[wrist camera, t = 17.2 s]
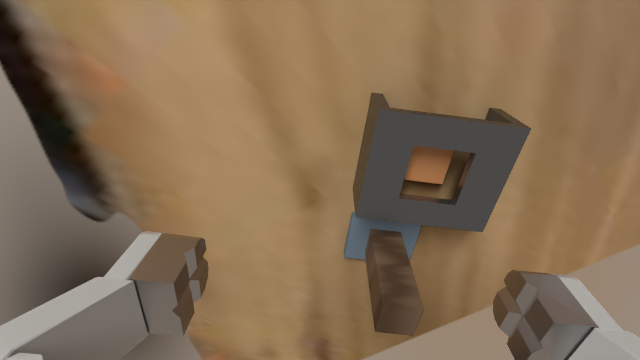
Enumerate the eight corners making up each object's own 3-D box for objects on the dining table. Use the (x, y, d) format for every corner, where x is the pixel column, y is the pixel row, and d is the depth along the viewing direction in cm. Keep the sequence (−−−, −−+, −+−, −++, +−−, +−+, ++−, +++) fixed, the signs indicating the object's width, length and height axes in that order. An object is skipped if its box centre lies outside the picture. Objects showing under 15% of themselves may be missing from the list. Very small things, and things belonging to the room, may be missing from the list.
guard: (500, 109, 34) (531, 128, 29) (462, 201, 40) (482, 232, 35) (371, 92, 34) (378, 109, 28) (352, 188, 39) (355, 217, 34)
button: (448, 136, 35) (456, 145, 33) (436, 173, 38) (442, 184, 36) (406, 130, 35) (411, 139, 33) (396, 168, 38) (400, 179, 35)
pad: (420, 220, 41) (421, 224, 41) (406, 259, 45) (408, 264, 44) (352, 212, 41) (352, 216, 40) (343, 252, 45) (344, 257, 44)
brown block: (400, 232, 41) (423, 310, 31) (393, 254, 43) (413, 335, 33) (370, 228, 41) (383, 305, 31) (364, 251, 43) (375, 331, 33)
